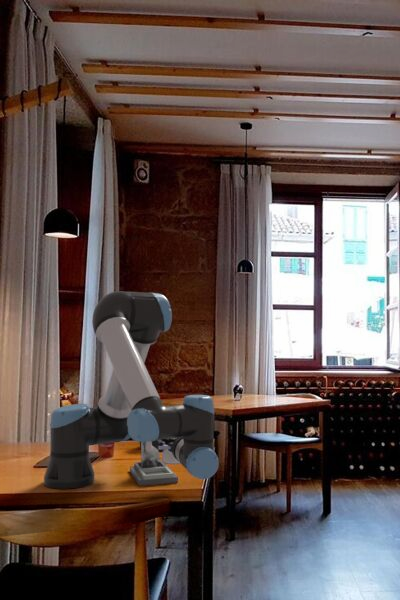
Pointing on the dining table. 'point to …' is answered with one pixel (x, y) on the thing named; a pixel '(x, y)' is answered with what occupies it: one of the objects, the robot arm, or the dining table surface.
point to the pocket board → (153, 474)
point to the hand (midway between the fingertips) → (169, 434)
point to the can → (168, 457)
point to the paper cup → (106, 450)
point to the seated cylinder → (149, 455)
